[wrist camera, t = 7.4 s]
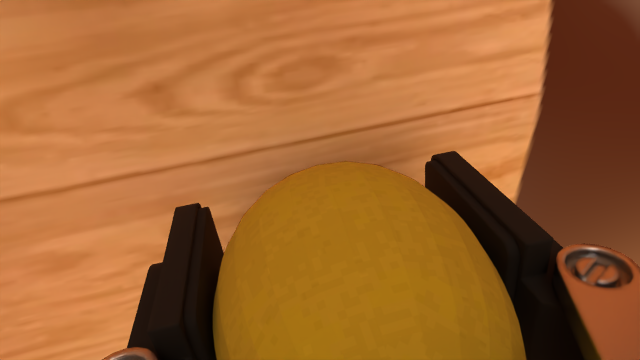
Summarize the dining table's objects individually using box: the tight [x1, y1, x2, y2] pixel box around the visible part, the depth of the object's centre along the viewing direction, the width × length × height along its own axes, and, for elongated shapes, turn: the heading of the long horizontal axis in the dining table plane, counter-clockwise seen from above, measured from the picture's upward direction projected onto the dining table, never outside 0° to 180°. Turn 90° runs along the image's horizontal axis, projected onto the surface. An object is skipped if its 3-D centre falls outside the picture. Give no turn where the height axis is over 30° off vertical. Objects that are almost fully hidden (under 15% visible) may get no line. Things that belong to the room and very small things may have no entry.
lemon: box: [213, 161, 526, 360], centre depth 8 cm, size 6×6×8 cm
